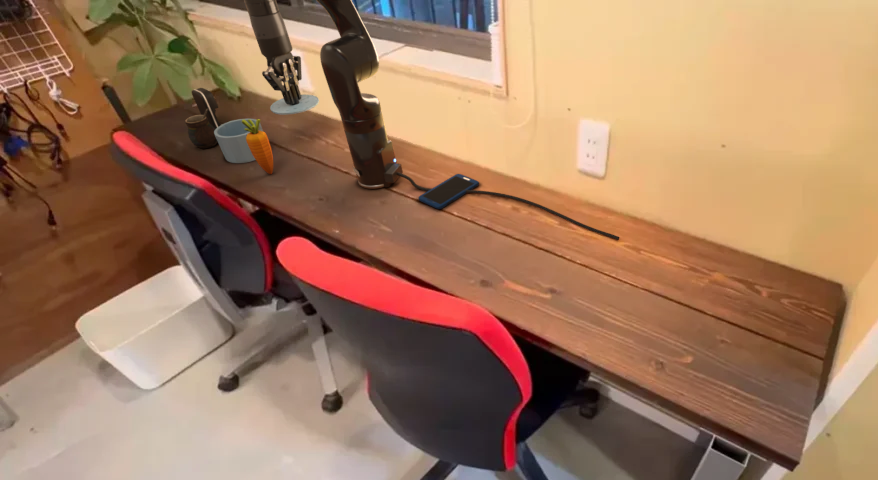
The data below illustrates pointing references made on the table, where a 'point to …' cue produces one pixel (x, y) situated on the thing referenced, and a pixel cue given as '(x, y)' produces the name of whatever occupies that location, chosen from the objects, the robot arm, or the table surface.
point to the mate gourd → (201, 131)
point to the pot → (235, 141)
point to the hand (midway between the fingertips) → (294, 101)
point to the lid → (298, 106)
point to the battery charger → (206, 105)
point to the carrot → (259, 145)
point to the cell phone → (448, 191)
